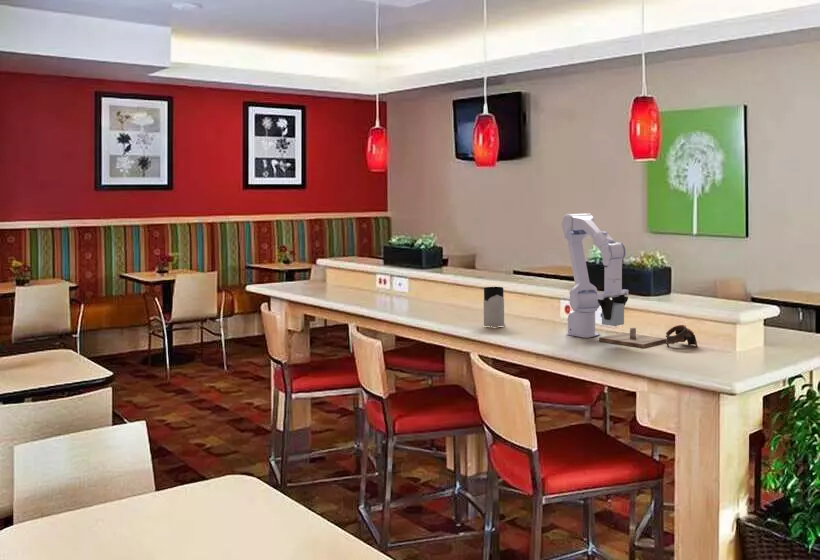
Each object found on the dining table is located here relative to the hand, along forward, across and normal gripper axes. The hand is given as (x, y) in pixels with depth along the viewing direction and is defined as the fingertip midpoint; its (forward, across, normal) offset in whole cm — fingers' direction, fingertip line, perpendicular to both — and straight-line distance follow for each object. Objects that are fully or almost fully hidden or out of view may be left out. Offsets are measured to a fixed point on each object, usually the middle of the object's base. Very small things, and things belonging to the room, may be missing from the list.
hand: (612, 318), depth 292 cm
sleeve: (+2, 0, 0) cm, 2 cm away
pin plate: (+9, +9, -2) cm, 13 cm away
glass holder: (+9, -1, +57) cm, 58 cm away
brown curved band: (+9, +13, -18) cm, 24 cm away
